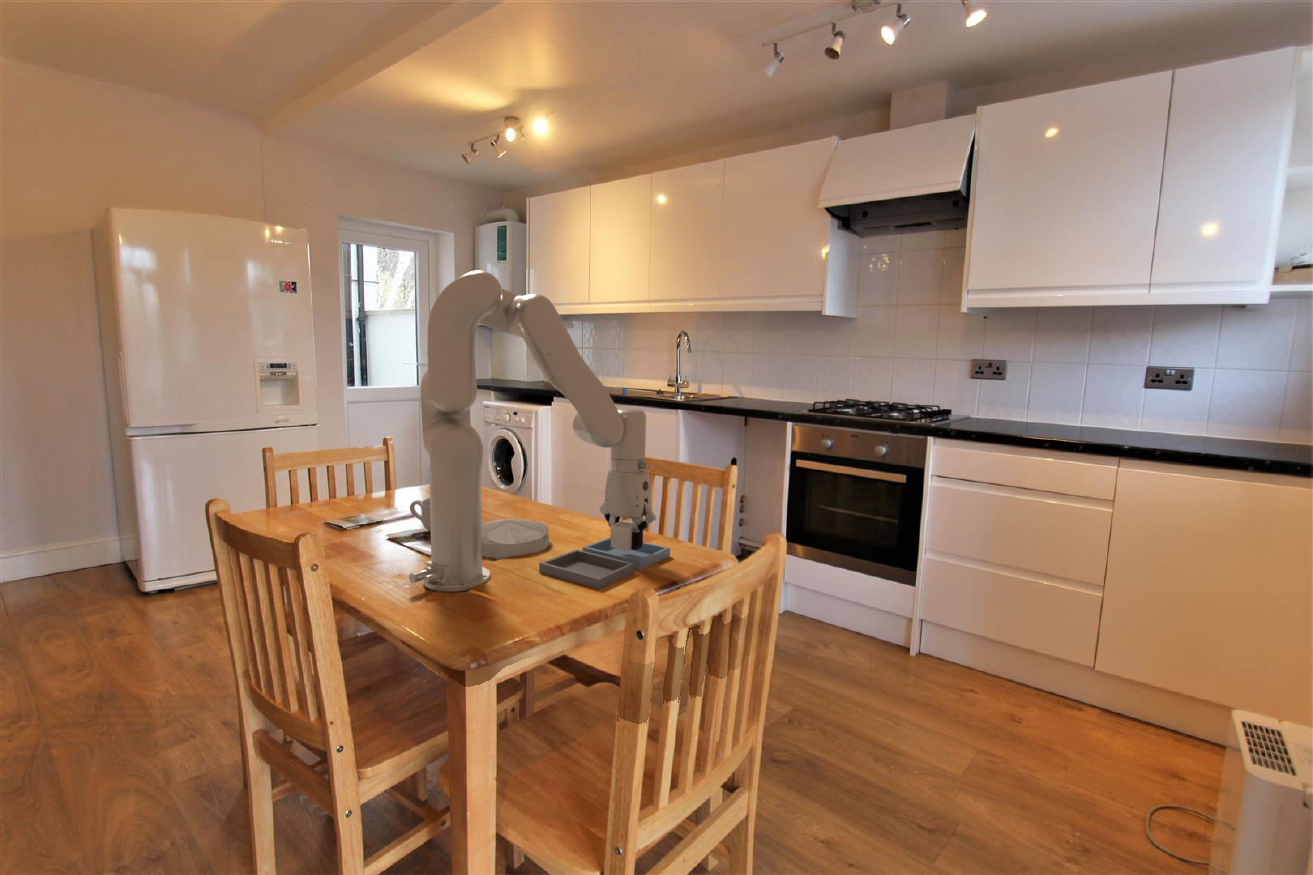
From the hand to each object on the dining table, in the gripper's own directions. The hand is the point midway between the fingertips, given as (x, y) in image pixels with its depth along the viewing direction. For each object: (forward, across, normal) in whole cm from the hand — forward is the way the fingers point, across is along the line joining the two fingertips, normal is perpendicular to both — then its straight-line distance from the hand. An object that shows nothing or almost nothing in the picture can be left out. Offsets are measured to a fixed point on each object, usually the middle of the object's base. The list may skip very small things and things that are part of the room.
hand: (626, 545), depth 140 cm
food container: (+4, +27, +9) cm, 29 cm away
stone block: (0, 0, 0) cm, 0 cm away
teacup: (+3, +50, +12) cm, 51 cm away
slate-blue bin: (+3, 0, 0) cm, 3 cm away
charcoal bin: (+3, 0, +14) cm, 14 cm away
